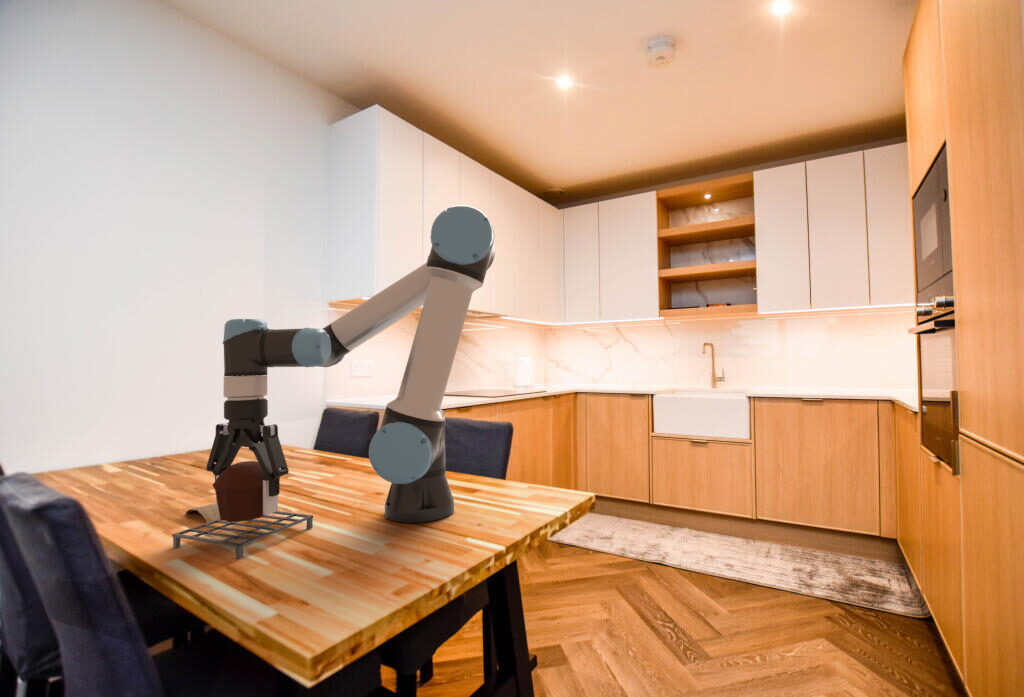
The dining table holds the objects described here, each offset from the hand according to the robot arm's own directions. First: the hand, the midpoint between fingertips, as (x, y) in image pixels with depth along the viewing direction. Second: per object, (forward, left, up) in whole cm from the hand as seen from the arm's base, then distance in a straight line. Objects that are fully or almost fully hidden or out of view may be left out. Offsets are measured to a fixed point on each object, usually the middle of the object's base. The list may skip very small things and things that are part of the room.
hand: (246, 510), depth 94 cm
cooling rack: (0, 0, -5) cm, 5 cm away
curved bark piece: (+20, -10, -6) cm, 23 cm away
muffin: (0, 0, -1) cm, 1 cm away
